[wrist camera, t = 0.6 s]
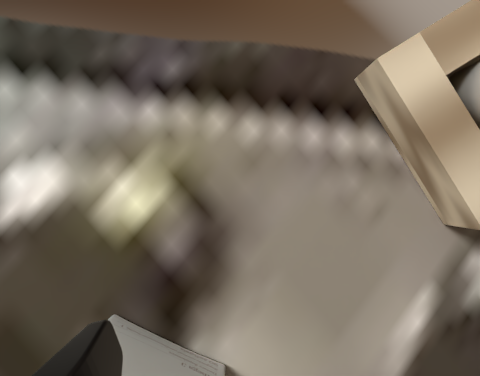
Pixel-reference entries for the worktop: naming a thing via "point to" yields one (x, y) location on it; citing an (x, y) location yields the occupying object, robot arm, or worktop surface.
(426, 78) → the beige square frame
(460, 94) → the white pink cylinder
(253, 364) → the worktop surface
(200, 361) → the supplement box
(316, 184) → the worktop surface
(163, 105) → the worktop surface
